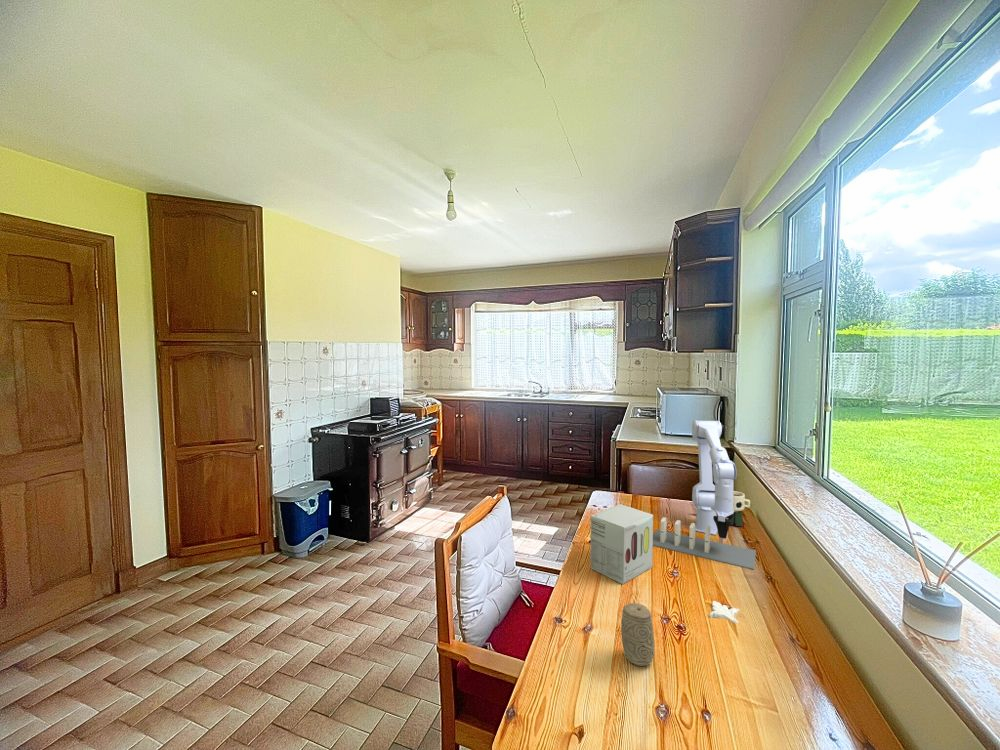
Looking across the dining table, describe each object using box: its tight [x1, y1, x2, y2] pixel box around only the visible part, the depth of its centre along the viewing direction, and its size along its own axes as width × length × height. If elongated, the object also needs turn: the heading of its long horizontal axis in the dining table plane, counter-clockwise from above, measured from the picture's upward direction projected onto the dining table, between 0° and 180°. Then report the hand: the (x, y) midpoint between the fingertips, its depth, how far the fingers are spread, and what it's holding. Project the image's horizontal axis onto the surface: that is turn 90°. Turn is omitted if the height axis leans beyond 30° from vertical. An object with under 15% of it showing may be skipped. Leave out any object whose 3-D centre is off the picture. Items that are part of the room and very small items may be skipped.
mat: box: [653, 528, 757, 571], centre depth 151 cm, size 15×34×1 cm, turn 56°
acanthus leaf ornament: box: [709, 600, 740, 624], centre depth 113 cm, size 8×7×2 cm
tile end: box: [718, 518, 729, 544], centre depth 145 cm, size 5×1×8 cm, turn 131°
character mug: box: [729, 490, 751, 527], centre depth 171 cm, size 11×7×13 cm, turn 60°
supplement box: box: [590, 503, 654, 585], centre depth 137 cm, size 17×13×18 cm
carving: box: [620, 602, 655, 667], centre depth 96 cm, size 6×8×12 cm
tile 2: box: [674, 519, 682, 546], centre depth 154 cm, size 5×1×8 cm, turn 146°
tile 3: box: [688, 522, 696, 549], centre depth 151 cm, size 5×1×8 cm, turn 146°
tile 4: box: [704, 526, 711, 553], centre depth 148 cm, size 5×1×8 cm, turn 146°
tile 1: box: [659, 516, 668, 543], centre depth 156 cm, size 5×1×8 cm, turn 146°
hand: (723, 534), depth 145 cm, fingers closed on tile end, 5 cm apart
